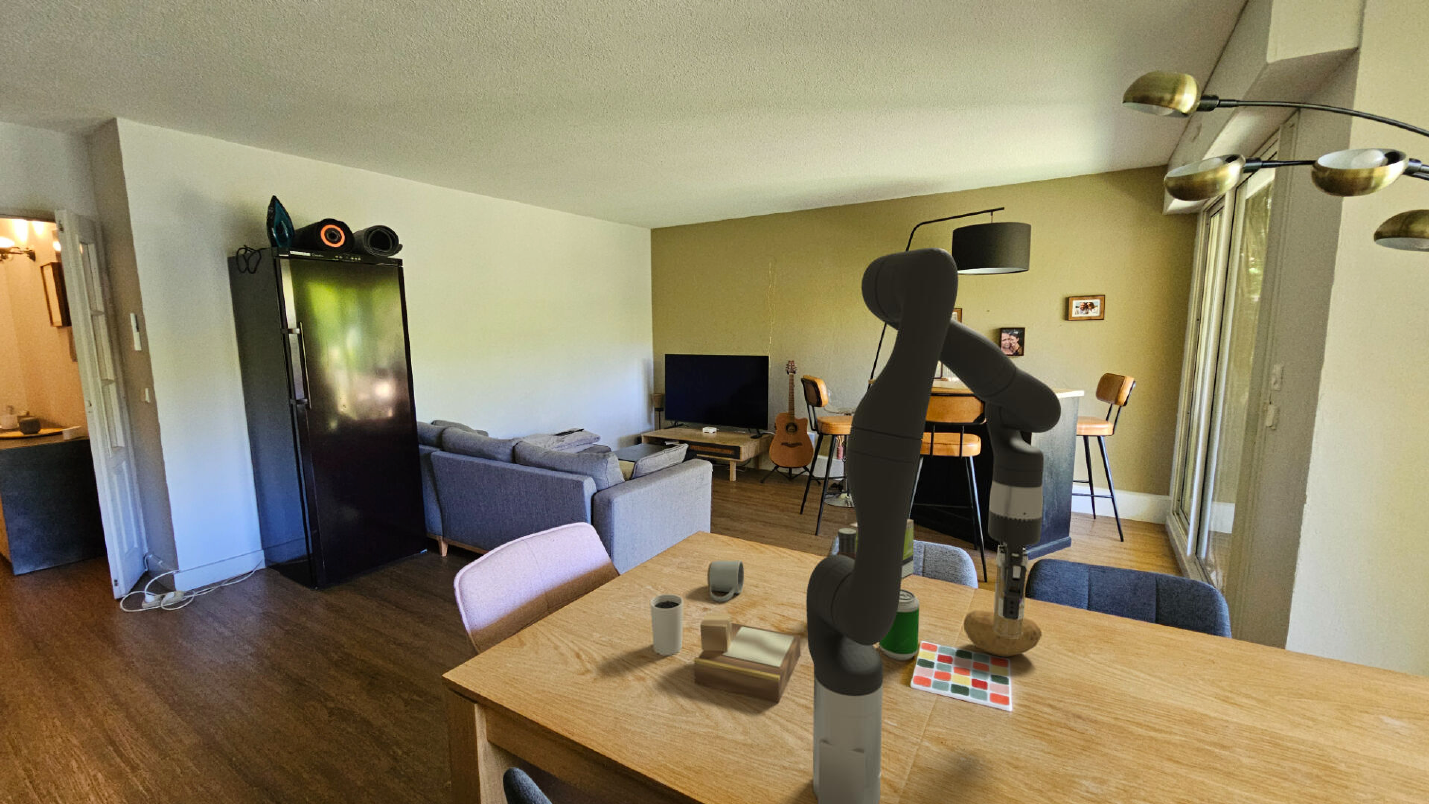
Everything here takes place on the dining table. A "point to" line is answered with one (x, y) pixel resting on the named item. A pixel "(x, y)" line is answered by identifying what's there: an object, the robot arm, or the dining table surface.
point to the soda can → (903, 629)
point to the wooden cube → (716, 632)
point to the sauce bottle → (847, 542)
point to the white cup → (667, 623)
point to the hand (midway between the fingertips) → (1008, 610)
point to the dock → (751, 663)
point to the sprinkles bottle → (1001, 624)
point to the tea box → (908, 547)
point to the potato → (986, 639)
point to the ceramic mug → (725, 578)
